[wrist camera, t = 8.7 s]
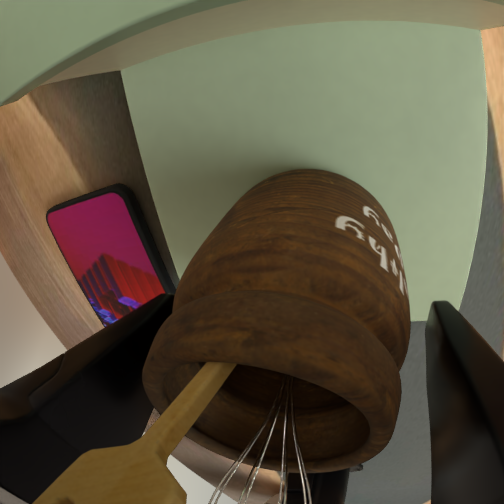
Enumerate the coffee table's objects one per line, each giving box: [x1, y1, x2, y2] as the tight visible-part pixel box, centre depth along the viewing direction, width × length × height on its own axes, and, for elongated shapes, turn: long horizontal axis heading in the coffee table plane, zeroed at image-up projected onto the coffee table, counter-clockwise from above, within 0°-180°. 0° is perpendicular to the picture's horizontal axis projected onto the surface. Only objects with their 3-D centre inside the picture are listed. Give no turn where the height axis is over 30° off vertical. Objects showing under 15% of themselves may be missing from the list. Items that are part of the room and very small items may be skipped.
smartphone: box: [46, 184, 176, 327], centre depth 19 cm, size 8×1×15 cm
